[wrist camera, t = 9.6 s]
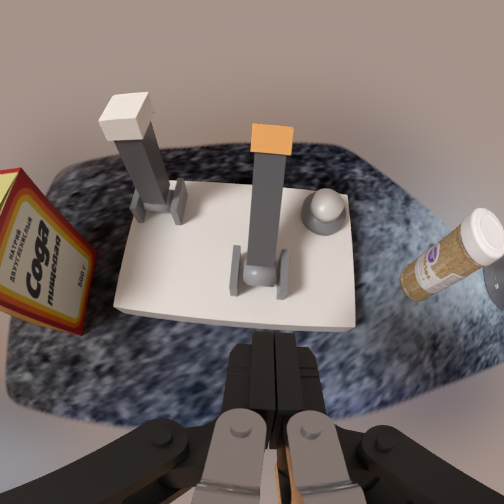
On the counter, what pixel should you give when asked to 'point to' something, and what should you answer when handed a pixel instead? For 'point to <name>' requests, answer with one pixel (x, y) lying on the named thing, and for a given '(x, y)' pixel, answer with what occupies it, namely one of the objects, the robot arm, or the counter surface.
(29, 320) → the baking soda box
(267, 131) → the lever orange
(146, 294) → the switch panel
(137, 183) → the lever white
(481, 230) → the sprinkles bottle
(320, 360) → the counter surface
